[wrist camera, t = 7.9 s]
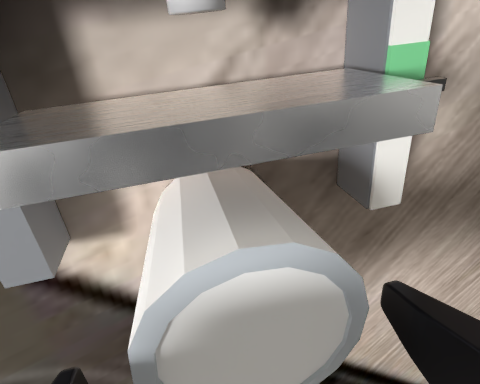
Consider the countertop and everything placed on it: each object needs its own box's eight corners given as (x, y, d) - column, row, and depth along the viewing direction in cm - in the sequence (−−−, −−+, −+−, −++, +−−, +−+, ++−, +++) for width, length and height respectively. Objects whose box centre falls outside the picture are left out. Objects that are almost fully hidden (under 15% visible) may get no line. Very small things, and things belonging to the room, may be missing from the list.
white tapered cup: (302, 160, 14) (411, 252, 8) (264, 277, 17) (325, 411, 11) (147, 136, 12) (142, 236, 6) (131, 274, 15) (116, 439, 9)
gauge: (391, -59, 11) (539, -117, 7) (365, 178, 16) (446, 233, 11) (-108, -30, 9) (-372, -94, 4) (29, 246, 13) (-33, 351, 9)
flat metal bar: (404, 60, 12) (522, 72, 8) (399, 92, 13) (507, 118, 9) (22, 111, 10) (-65, 161, 6) (37, 148, 10) (-33, 215, 6)
